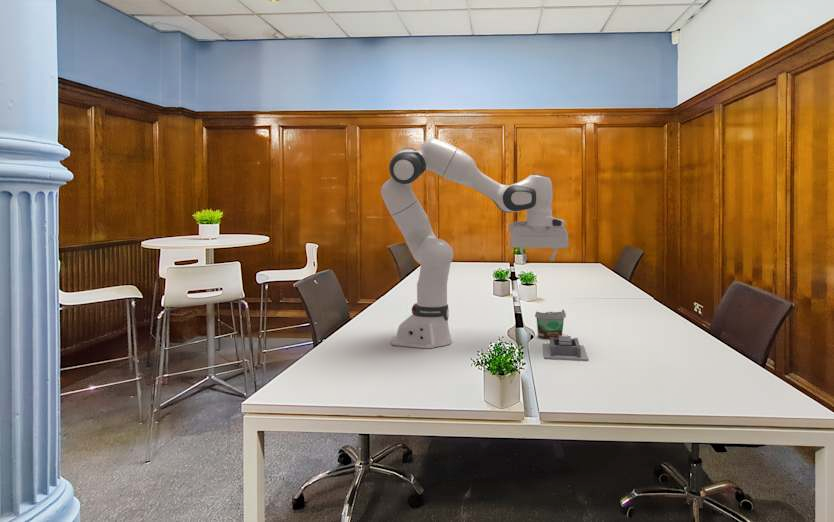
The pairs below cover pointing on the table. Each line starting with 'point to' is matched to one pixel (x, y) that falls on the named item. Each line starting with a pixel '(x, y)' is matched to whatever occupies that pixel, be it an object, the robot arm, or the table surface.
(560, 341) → the servo
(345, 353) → the table surface
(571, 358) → the pocket
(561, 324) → the food container
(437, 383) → the table surface
